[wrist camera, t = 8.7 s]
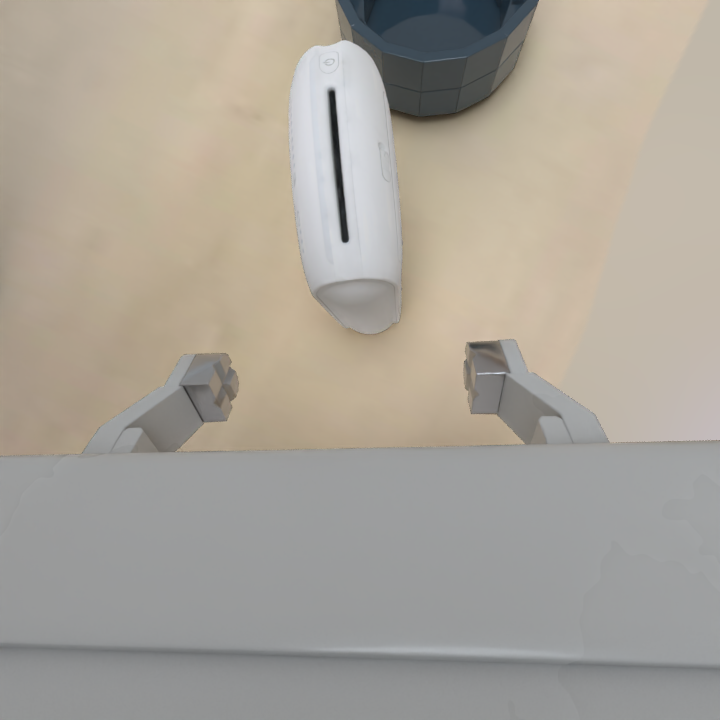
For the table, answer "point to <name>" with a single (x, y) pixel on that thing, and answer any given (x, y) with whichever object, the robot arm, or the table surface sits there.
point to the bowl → (438, 47)
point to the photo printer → (346, 186)
